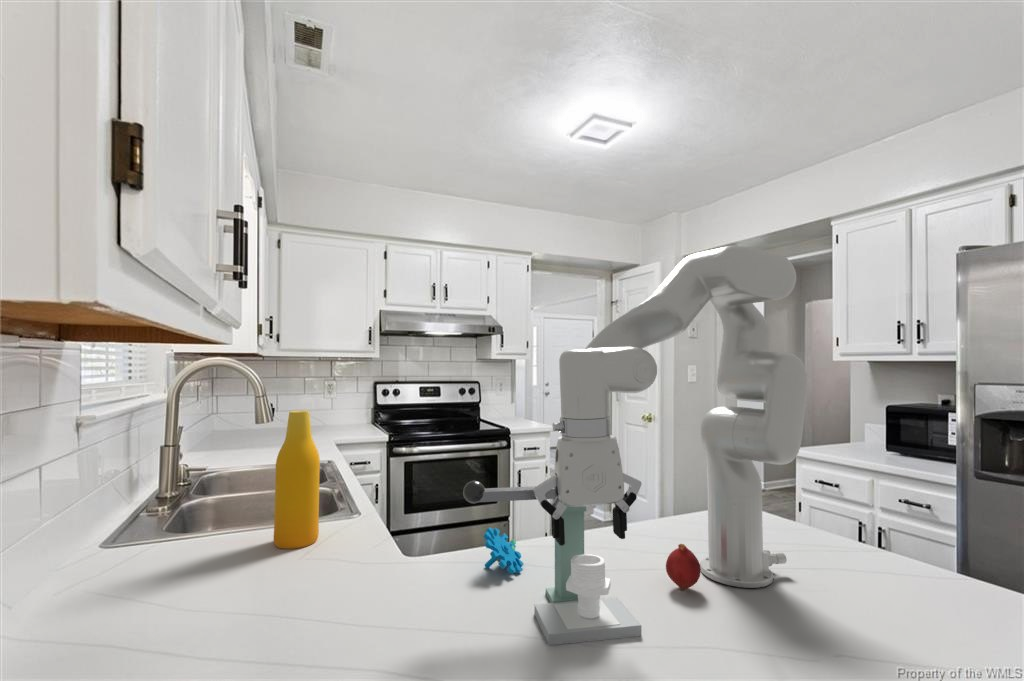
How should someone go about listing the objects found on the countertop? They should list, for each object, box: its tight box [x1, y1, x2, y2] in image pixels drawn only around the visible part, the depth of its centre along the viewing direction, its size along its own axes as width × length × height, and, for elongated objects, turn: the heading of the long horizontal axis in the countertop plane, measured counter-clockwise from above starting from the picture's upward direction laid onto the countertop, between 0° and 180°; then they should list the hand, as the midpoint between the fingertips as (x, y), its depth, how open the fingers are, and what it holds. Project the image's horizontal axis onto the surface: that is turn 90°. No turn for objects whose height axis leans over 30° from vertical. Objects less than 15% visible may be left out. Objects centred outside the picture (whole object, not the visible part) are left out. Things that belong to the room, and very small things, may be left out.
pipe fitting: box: [566, 553, 611, 618], centre depth 77 cm, size 6×7×8 cm
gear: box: [482, 527, 524, 575], centre depth 98 cm, size 11×6×10 cm
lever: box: [462, 480, 556, 504], centre depth 84 cm, size 20×4×4 cm, turn 101°
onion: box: [665, 543, 702, 591], centre depth 89 cm, size 6×6×8 cm
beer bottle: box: [273, 410, 321, 550], centre depth 112 cm, size 9×9×29 cm
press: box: [533, 474, 642, 646], centre depth 80 cm, size 14×16×20 cm
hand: (589, 539), depth 78 cm, fingers open, 9 cm apart
